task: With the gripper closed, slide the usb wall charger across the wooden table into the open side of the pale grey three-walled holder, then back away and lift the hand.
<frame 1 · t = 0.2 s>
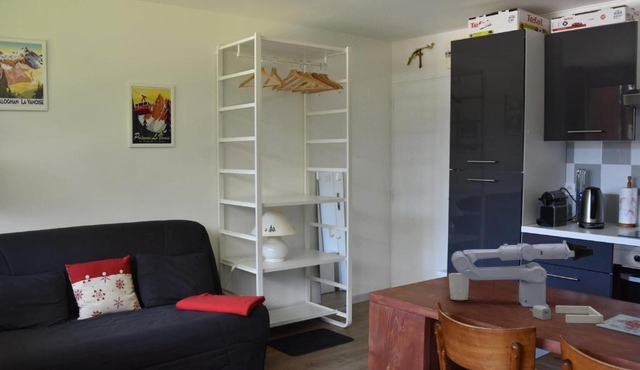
hand: (589, 250, 217), 21 cm above the table, tool horizontal, fingers open, 7 cm apart
white cup: (459, 299, 229), on the table, touching arm
usb wall charger: (538, 317, 204), on the table
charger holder: (577, 317, 203), on the table
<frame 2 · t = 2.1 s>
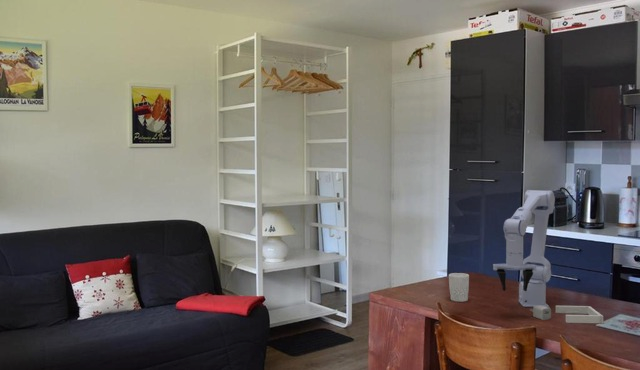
hand: (514, 290, 205), 9 cm above the table, tool pointing down, fingers open, 7 cm apart
white cup: (459, 300, 229), on the table
everything else where it was.
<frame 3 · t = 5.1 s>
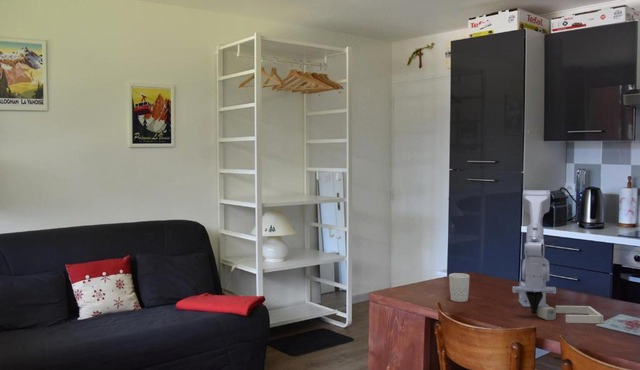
hand: (533, 312, 205), 1 cm above the table, tool pointing down, fingers closed
usb wall charger: (544, 317, 204), on the table, touching gripper
everything else where it was.
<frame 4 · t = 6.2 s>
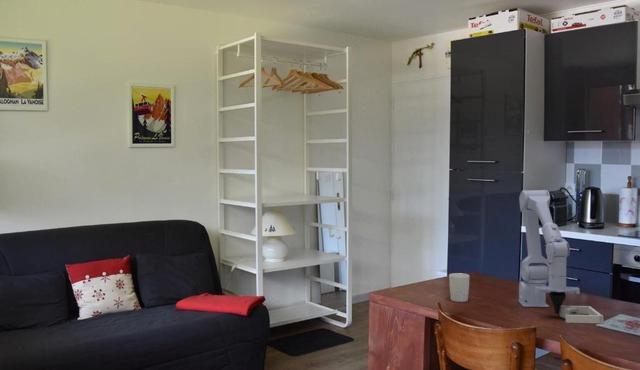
hand: (557, 313, 204), 1 cm above the table, tool pointing down, fingers closed
usb wall charger: (566, 318, 203), on the table, touching gripper
everything else where it was.
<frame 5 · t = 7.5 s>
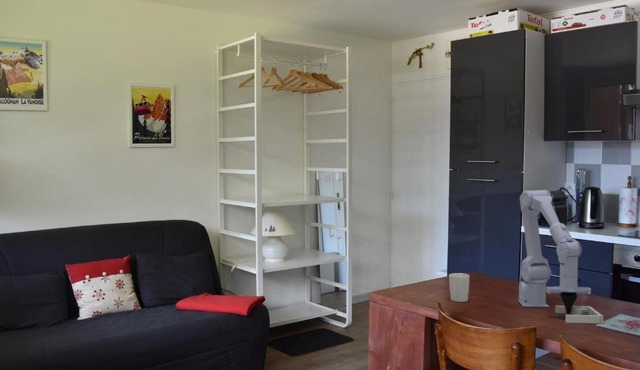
hand: (568, 313, 203), 1 cm above the table, tool pointing down, fingers closed
usb wall charger: (577, 318, 202), on the table, touching gripper
everything else where it was.
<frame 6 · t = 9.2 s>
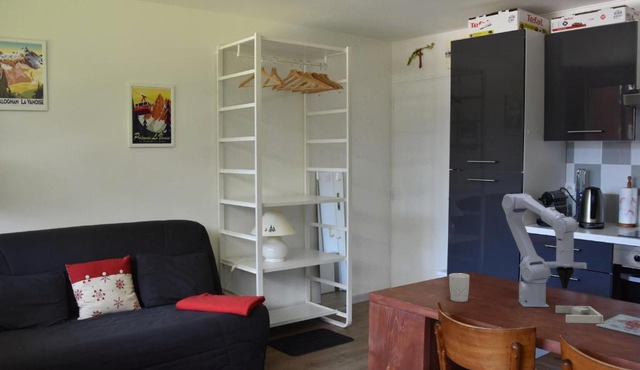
hand: (564, 287, 208), 9 cm above the table, tool pointing down, fingers closed
usb wall charger: (578, 319, 202), on the table
everything else where it was.
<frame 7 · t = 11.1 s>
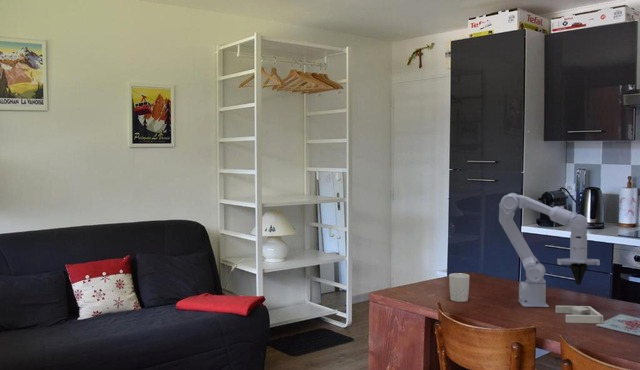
hand: (578, 283, 214), 9 cm above the table, tool pointing down, fingers closed
nothing on the table moved.
at the end: usb wall charger inside the target area on the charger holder (1.1 cm from its centre), point 0.0 cm above the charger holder's base; usb wall charger moved 13.2 cm from its start; the gripper is holding nothing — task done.
